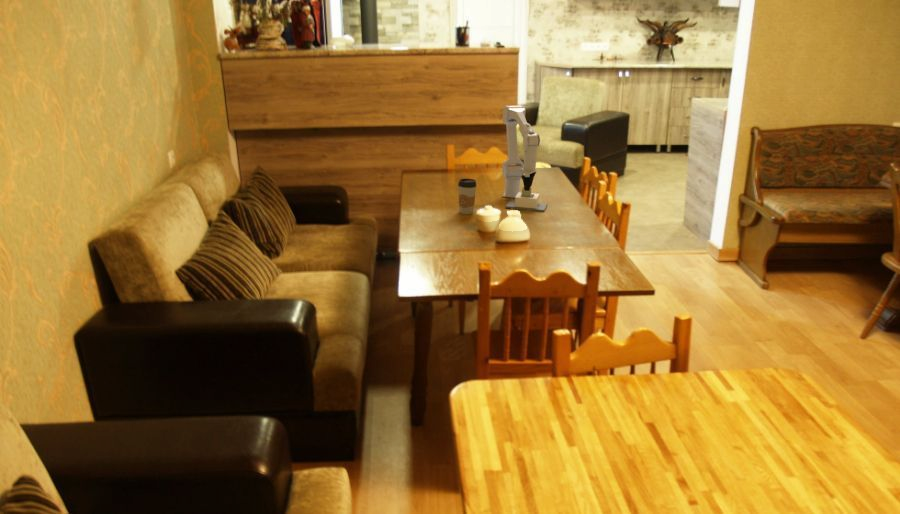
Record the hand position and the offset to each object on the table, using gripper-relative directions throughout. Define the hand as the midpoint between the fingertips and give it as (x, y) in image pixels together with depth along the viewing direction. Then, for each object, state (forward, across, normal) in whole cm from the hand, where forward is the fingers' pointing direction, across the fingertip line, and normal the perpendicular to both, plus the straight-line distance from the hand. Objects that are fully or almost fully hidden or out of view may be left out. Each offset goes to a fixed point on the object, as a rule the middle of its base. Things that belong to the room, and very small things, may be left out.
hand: (527, 188), depth 324 cm
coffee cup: (+9, +19, -25) cm, 33 cm away
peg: (+8, 0, -1) cm, 8 cm away
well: (+9, 0, 0) cm, 9 cm away
